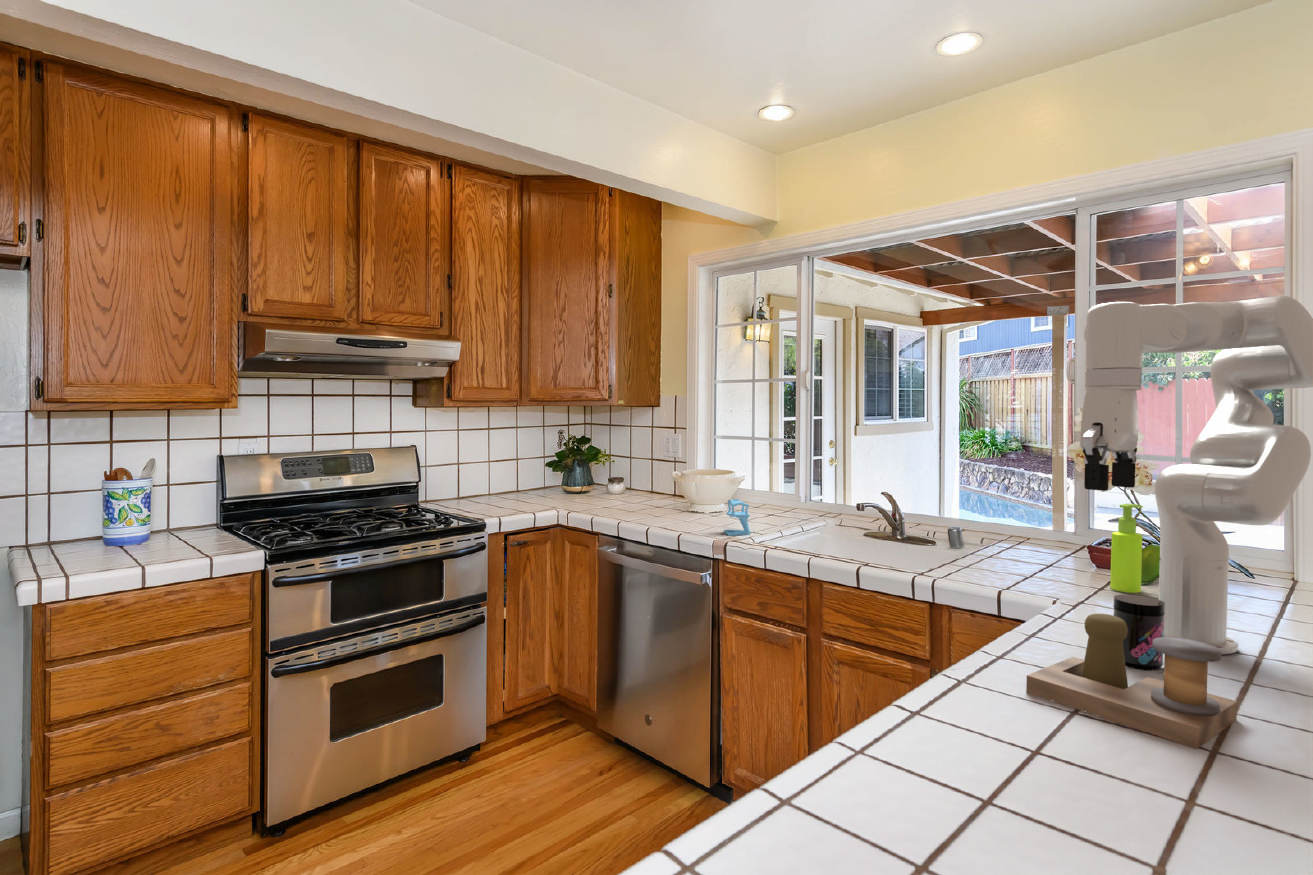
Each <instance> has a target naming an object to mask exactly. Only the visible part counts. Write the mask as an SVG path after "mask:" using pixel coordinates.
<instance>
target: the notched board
mask: <svg viewBox="0 0 1313 875" xmlns="http://www.w3.org/2000/svg"><path fill="white" fill-rule="evenodd" d="M1152 647H1153V648H1154V649H1155V650H1156V651H1158V652H1160V653H1163V655H1164V656H1163V666H1164V667H1163V671H1164V672H1163V680H1161V679H1157V678H1153V677H1149V676H1148V677H1146V678H1143V679H1141V680H1140V681H1137V682H1136V683H1133V684H1132V685H1130V686H1128V688H1126V689H1121V688H1118V687H1114V686H1111V685H1107V684H1104V683H1100V682H1097V681H1094V680H1090V679H1087V678H1083V677H1081V676H1082V670H1083V665H1084V659H1082V658H1079V657H1076V656H1071V657H1069V658H1066V659H1064V660H1061V661H1059V662H1057V663H1054V664H1051V665H1049V666H1047V667H1044V668H1042V669H1041V668H1040V670H1036V671H1034V672H1032V673H1029V674H1027V675H1026V685H1025V686H1026V690H1025V693H1026V694H1029V695H1032V696H1035V697H1038V696H1039V698H1041V697H1042V698H1041V699H1044V698H1045V699H1044V700H1048V701H1050V700H1053V701H1055V702H1054V703H1056V702H1057V703H1056V704H1059V703H1061V704H1060V705H1062V704H1063V705H1062V706H1065V705H1068V706H1071V707H1073V708H1072V709H1074V708H1075V709H1074V710H1077V709H1078V711H1080V710H1083V711H1086V712H1085V713H1087V712H1088V713H1087V714H1090V713H1091V714H1090V715H1093V714H1095V715H1094V716H1096V715H1098V716H1097V717H1099V716H1100V717H1099V718H1102V717H1103V718H1102V719H1104V720H1109V721H1111V722H1114V723H1117V724H1120V723H1121V724H1120V725H1124V726H1127V727H1129V728H1133V729H1135V730H1139V731H1142V732H1144V733H1147V732H1149V733H1148V734H1150V733H1151V735H1154V736H1156V735H1157V737H1160V738H1162V737H1163V738H1162V739H1166V740H1169V741H1171V742H1174V743H1178V744H1181V745H1184V746H1186V747H1191V748H1192V749H1195V750H1197V749H1199V748H1201V747H1202V746H1203V745H1205V744H1206V743H1207V742H1209V741H1211V739H1213V738H1214V737H1216V736H1217V735H1218V734H1220V733H1221V732H1223V731H1224V730H1225V729H1227V728H1228V727H1230V725H1232V724H1233V723H1235V722H1236V721H1237V719H1238V718H1237V717H1238V716H1237V715H1238V713H1237V711H1238V701H1237V700H1235V699H1231V698H1230V699H1229V698H1226V697H1224V696H1223V697H1222V696H1219V695H1214V694H1212V693H1209V692H1208V671H1209V670H1208V668H1209V663H1210V662H1211V663H1213V662H1219V661H1221V660H1222V655H1223V654H1222V652H1221V650H1220V649H1218V648H1216V647H1214V646H1212V645H1209V644H1205V643H1202V642H1198V641H1193V640H1188V639H1181V638H1171V637H1160V638H1155V639H1153V646H1152ZM1053 701H1052V702H1053ZM1068 706H1067V707H1068ZM1071 707H1070V708H1071ZM1083 711H1082V712H1083Z"/></svg>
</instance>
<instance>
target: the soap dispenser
mask: <svg viewBox="0 0 1313 875" xmlns="http://www.w3.org/2000/svg"><path fill="white" fill-rule="evenodd" d="M1119 508H1122V516H1121V517H1118V525H1117V526H1118V527H1117V528H1118V529H1117V531H1112V532H1111V544H1110V545H1111V547H1110V548H1111V549H1110V582H1109V583H1110V589H1111V590H1114V591H1116V592H1121V593H1135V594H1137V593H1141V591H1142V563H1143V561H1142V560H1143V534H1140V533H1138V532H1137V519H1136V518H1134V517H1133V508H1138V509H1139V508H1140V509H1142V508H1143V505H1141V504H1134V503H1122V504H1119Z"/></svg>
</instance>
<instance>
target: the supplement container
mask: <svg viewBox="0 0 1313 875" xmlns="http://www.w3.org/2000/svg"><path fill="white" fill-rule="evenodd" d="M1112 607H1113V616H1116V617H1119V618H1121V619H1122V620H1124V621H1125V623H1126V625H1127V629H1128V633H1127V636H1126V638H1125V639H1124V640H1123V641H1122V642H1123V650H1124V658H1125V666H1126V668H1130V669H1133V668H1134V670H1138V669H1139V670H1140V671H1148V670H1149V671H1152V670H1153V671H1158V670H1160V669H1161V668H1162V667H1163V666H1164V654H1163V653H1160V652H1158V651H1156V650H1155V649H1154V648H1153V647H1152V646H1153V639H1155V638H1160V637H1164V614H1165V603H1164V602H1163V601H1160V600H1159V599H1157V598H1155V597H1148V596H1143V595H1135V594H1115V595H1113V605H1112Z"/></svg>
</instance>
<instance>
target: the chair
mask: <svg viewBox="0 0 1313 875" xmlns="http://www.w3.org/2000/svg"><path fill="white" fill-rule="evenodd" d="M740 505H741V511H737V512H735V507H737V506H740ZM727 506H728V511H726V515H727V516H729V517H730V518H736V519H737V518H738V520H739V521H740V524H741V525H742V528H743V529H723V533H724V534H725V535H727V536H728V537H732V536H734V537H735V536H745V535H746V536H749V535H751V530H750V526H749V522H748V520H749V518H750V517H751V516H750V514H749V512H748V510H749V506H750V503H746V502H743V500H739V499H737V498H736V499H735V498H734V499H732V498H730V499H729V500H728V501H727ZM745 507H746V508H745Z"/></svg>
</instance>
